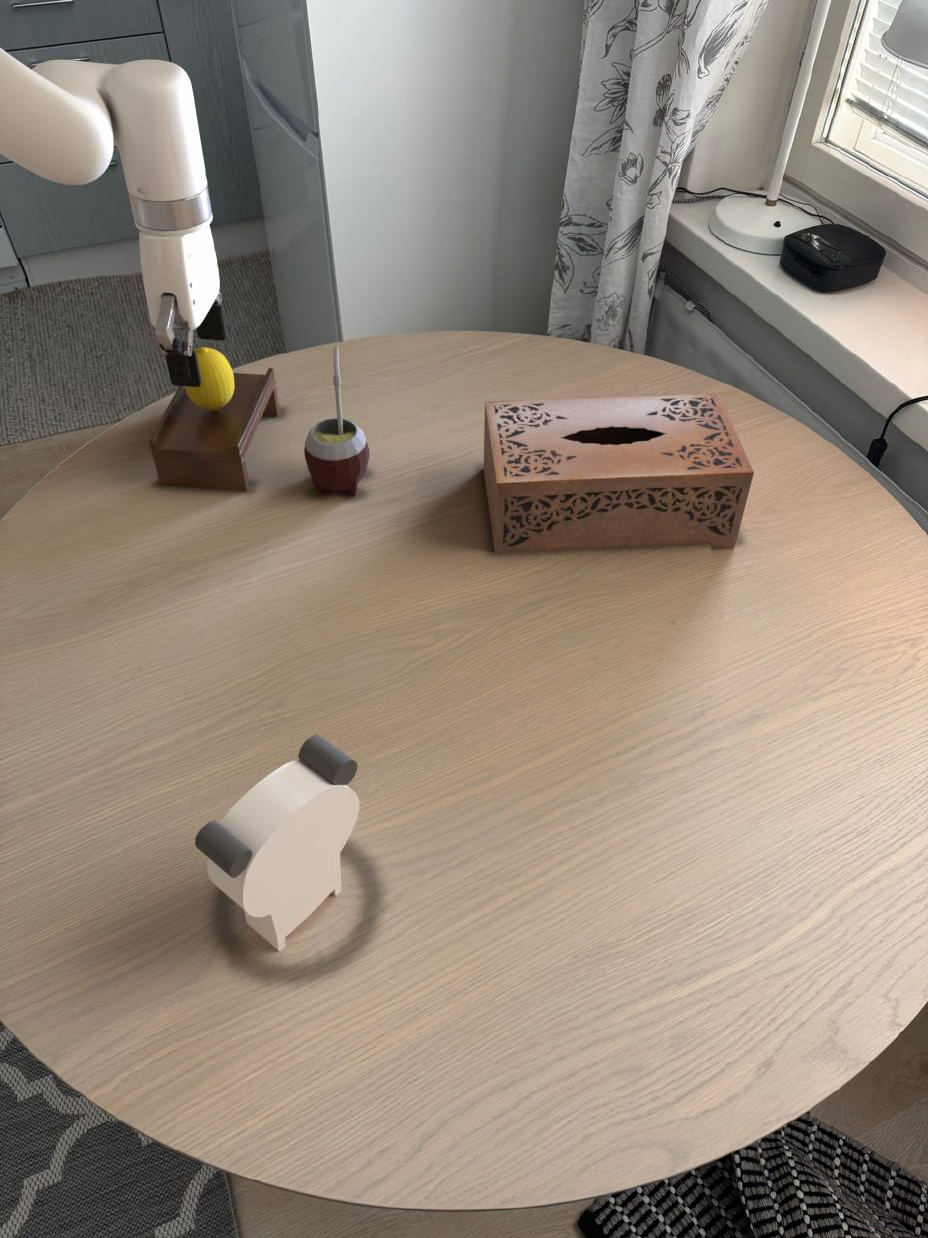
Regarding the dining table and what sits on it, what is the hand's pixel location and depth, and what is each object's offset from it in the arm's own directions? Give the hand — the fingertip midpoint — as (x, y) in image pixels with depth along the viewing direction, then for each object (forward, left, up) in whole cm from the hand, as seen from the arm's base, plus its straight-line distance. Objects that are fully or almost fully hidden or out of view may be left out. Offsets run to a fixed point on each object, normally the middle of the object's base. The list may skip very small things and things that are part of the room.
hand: (200, 360), depth 109 cm
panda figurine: (+22, -57, -13) cm, 62 cm away
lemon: (0, 0, -7) cm, 7 cm away
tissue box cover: (+45, -6, -13) cm, 48 cm away
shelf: (0, 0, -12) cm, 12 cm away
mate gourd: (+15, -5, -13) cm, 21 cm away
